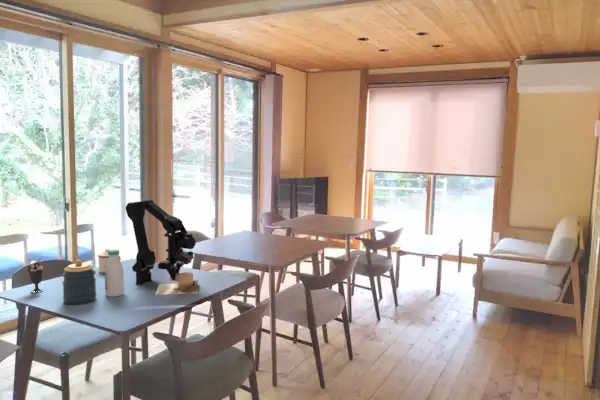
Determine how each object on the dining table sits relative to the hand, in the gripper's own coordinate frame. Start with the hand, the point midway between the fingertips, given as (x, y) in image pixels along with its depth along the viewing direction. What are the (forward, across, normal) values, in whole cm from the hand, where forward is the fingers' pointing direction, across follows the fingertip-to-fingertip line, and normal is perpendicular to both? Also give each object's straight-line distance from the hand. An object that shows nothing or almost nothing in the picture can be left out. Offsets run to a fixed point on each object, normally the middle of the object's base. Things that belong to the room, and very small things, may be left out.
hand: (174, 279), depth 222 cm
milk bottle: (+5, -16, +21) cm, 27 cm away
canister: (+5, -27, +30) cm, 40 cm away
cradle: (+4, -2, -2) cm, 5 cm away
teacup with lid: (+5, +18, +49) cm, 52 cm away
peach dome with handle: (+3, 0, -3) cm, 5 cm away
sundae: (+5, -23, +56) cm, 61 cm away
